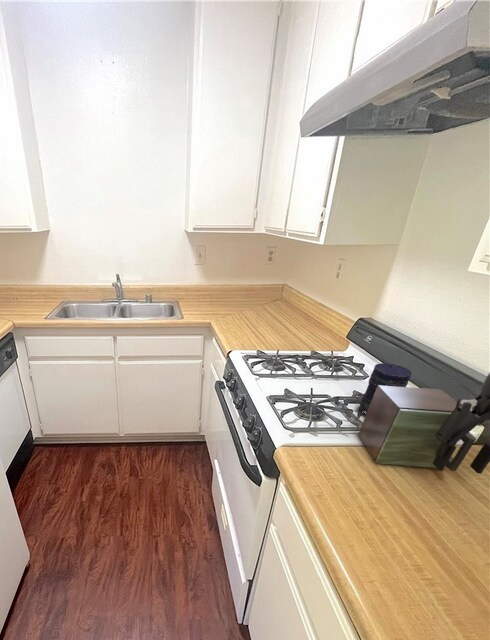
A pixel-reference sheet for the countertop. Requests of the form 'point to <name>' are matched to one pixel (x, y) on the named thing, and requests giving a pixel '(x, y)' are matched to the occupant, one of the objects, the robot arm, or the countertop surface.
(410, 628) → the countertop surface
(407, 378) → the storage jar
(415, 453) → the door
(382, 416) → the cupboard
